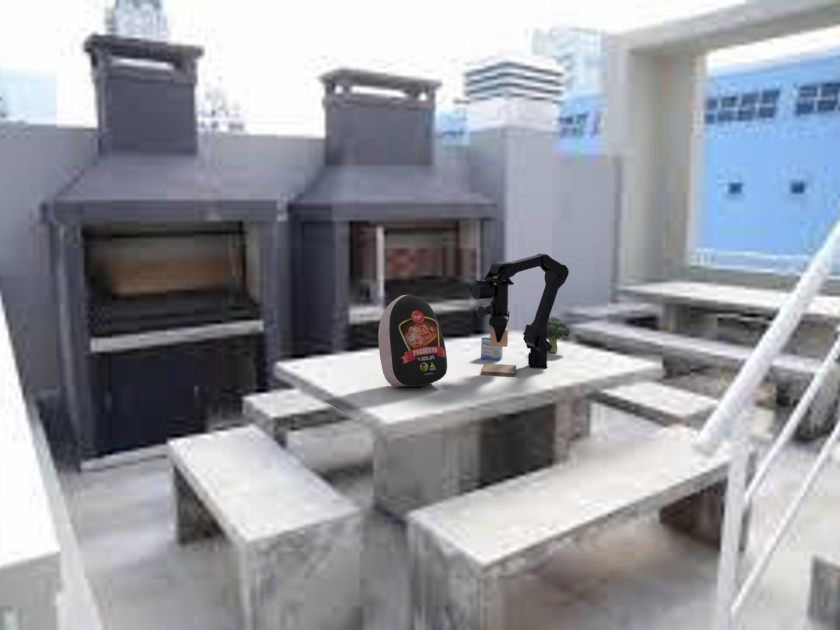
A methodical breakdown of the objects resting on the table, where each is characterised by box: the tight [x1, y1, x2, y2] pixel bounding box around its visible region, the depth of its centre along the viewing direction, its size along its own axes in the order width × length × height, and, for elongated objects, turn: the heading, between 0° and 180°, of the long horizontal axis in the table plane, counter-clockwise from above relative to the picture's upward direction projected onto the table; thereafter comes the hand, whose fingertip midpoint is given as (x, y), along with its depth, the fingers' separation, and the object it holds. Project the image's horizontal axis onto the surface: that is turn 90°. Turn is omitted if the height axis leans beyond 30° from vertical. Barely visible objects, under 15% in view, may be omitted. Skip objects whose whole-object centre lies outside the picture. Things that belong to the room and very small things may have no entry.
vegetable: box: [546, 316, 571, 353], centre depth 279 cm, size 12×13×15 cm
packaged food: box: [378, 294, 448, 387], centre depth 227 cm, size 22×20×30 cm
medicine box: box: [480, 335, 504, 361], centre depth 268 cm, size 8×4×9 cm, turn 73°
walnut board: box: [481, 363, 517, 377], centre depth 248 cm, size 12×12×1 cm
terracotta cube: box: [489, 326, 509, 348], centre depth 247 cm, size 6×6×6 cm
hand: (499, 340), depth 247 cm, fingers closed on terracotta cube, 6 cm apart
